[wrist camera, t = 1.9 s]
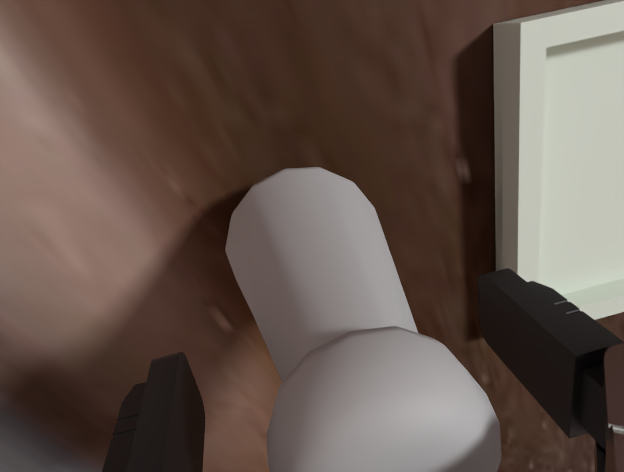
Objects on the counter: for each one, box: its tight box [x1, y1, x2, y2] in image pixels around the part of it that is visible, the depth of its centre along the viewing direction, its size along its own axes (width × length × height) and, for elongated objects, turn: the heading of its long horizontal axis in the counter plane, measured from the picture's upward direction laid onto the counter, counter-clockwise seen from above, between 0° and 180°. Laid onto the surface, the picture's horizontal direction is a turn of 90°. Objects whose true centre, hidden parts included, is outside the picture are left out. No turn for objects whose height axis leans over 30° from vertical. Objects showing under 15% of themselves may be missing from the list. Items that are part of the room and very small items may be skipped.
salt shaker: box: [225, 167, 501, 472], centre depth 13 cm, size 6×6×13 cm
